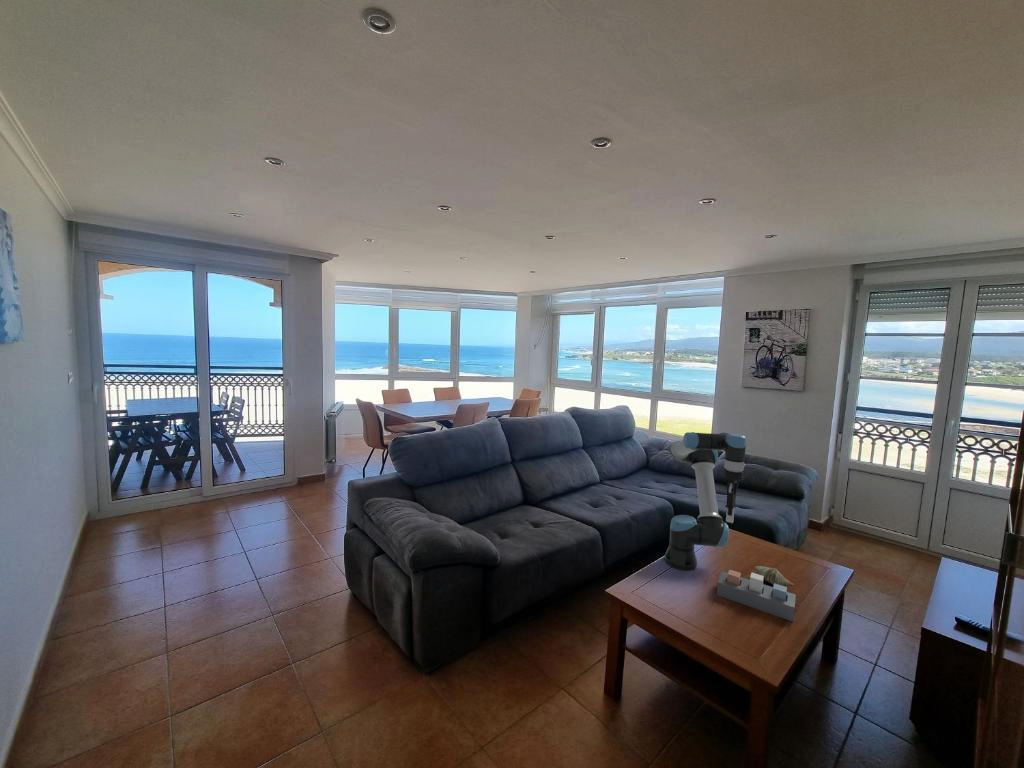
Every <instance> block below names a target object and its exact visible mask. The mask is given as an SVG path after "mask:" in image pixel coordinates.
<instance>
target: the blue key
mask: <svg viewBox="0 0 1024 768" xmlns="http://www.w3.org/2000/svg"><path fill="white" fill-rule="evenodd" d="M772 587H773V596H772V597H774V598H777V599H780V600H783V601H786V593H787V592H788V591H787V590H788V586H785V587H784V586H781V585H778V584H775V583H774V586H772Z"/></svg>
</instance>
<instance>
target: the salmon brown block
mask: <svg viewBox="0 0 1024 768" xmlns="http://www.w3.org/2000/svg"><path fill="white" fill-rule="evenodd" d="M727 573H728V576H727V582H728V583H731V584H734V585H738V586H740V580H741V577H742V572H738V571H736V570H732V569H729V570H728V572H727Z"/></svg>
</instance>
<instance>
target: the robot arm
mask: <svg viewBox="0 0 1024 768" xmlns="http://www.w3.org/2000/svg"><path fill="white" fill-rule="evenodd" d="M746 447H747V438H746V436H745V435H743V434H739V433H727V432H719V433H707V432H695V431H691V432H690V431H688V432H687V431H686V432H685V433H684V434H683V439H682V440H675V441H674V442H672V443H671V444H670V445H669V454H670V455H671V457H672V458H673V459H675V460H676V461H678V462H680V463H685V464H686V463H688V464H691V465H690V466H691V468H692V469H694V474H695V481H696V490H697V491H696V492H697V499H698V507H699V515H698V516H697V519H696V518H695V517H694V516H692V515H688V514H678V515H674V516H673V517H672V518H671V520H670V526H669V545H668V547H667V549H666V552H665V554H664V562H665V563H666V564H667V565H668V566H670V567H672V568H675V569H676V570H677V569H678V570H683V571H692V570H695V569H696V568H697V567H698V560H697V556H696V552H695V546H703V547H704V546H707V547H714V548H718V547H719V548H723V547H725V546H726V545H727V543H728V541H729V537H730V528H729V525H728V524H727V523H731V524H733V523H734V517H735V508H737V505H736V501H737V500H736V499H737V492H738V487H739V482H742V481H743V480H744V468H745V467H746V463H745V458H746V457H745V456H746ZM718 451H723V452H724V464H723V467H724V469H723V478H725V479H727V482H726V505H724V507H725V508H726V513H725V514H726V515H725V516H726V517H725V522H724V520H723V517H722V516H721V515H720V514H719V509H718V500H717V492H716V487H715V485H716V484H715V479H714V472H713V471H714V470H713V469H714V468H715V467H716V465H717V464H718V463H719V454H718Z"/></svg>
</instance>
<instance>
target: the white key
mask: <svg viewBox="0 0 1024 768" xmlns="http://www.w3.org/2000/svg"><path fill="white" fill-rule="evenodd" d="M763 579H764V576H762V575H759V574H756V572H751V574H750V576H749V580H750V584H749V589H750V590H753V591H756V592H759V593H762V590H763Z"/></svg>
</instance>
